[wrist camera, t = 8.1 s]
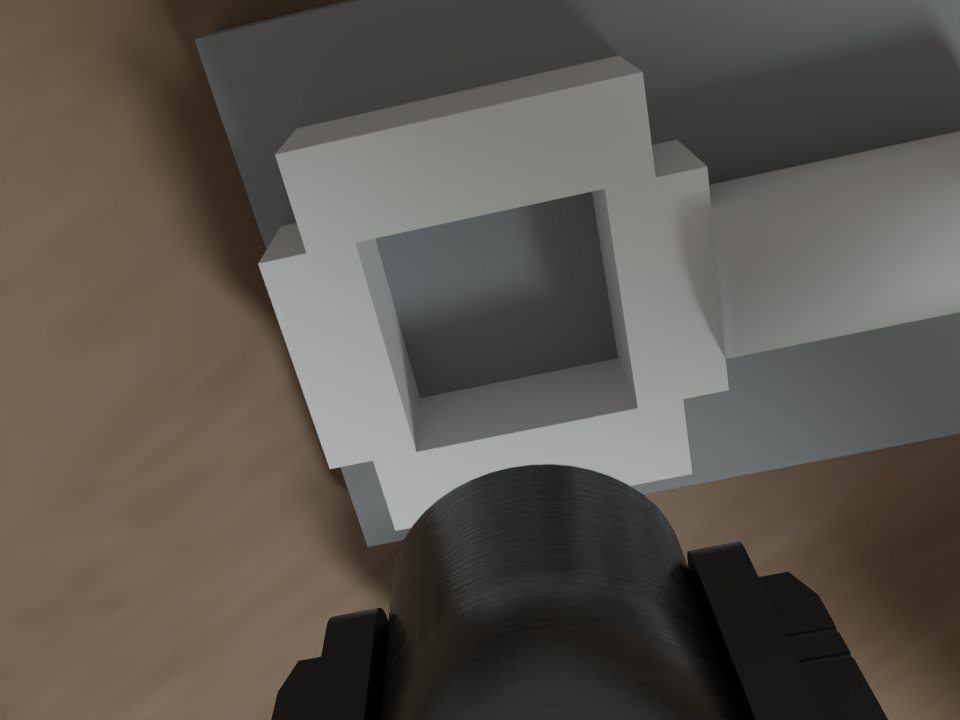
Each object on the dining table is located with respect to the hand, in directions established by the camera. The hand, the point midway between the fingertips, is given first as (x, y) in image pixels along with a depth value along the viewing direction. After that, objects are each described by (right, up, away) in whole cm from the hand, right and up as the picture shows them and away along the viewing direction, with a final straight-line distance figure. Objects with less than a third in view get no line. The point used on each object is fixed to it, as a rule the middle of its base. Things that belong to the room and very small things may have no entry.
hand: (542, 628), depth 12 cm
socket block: (+3, +8, +13) cm, 16 cm away
